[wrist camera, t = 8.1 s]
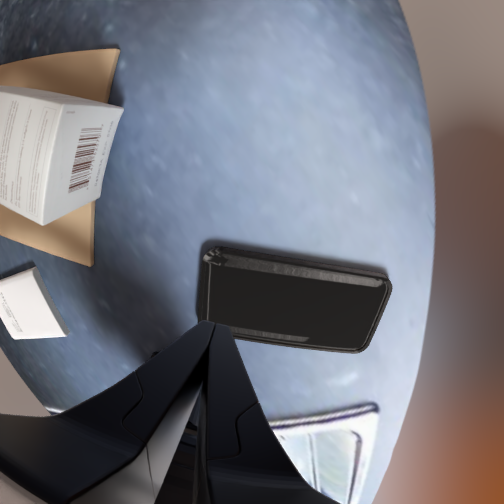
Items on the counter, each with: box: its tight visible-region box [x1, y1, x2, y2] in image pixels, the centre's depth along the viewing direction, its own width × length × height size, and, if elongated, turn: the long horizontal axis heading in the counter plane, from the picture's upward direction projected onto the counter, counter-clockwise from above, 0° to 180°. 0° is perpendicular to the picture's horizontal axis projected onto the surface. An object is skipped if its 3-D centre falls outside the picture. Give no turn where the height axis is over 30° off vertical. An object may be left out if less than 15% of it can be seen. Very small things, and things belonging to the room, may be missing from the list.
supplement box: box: [0, 86, 124, 226], centre depth 15 cm, size 7×7×13 cm
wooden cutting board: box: [0, 49, 120, 267], centre depth 19 cm, size 18×17×1 cm
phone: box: [198, 247, 392, 354], centre depth 23 cm, size 8×1×15 cm
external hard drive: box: [0, 267, 70, 339], centre depth 26 cm, size 2×8×12 cm
